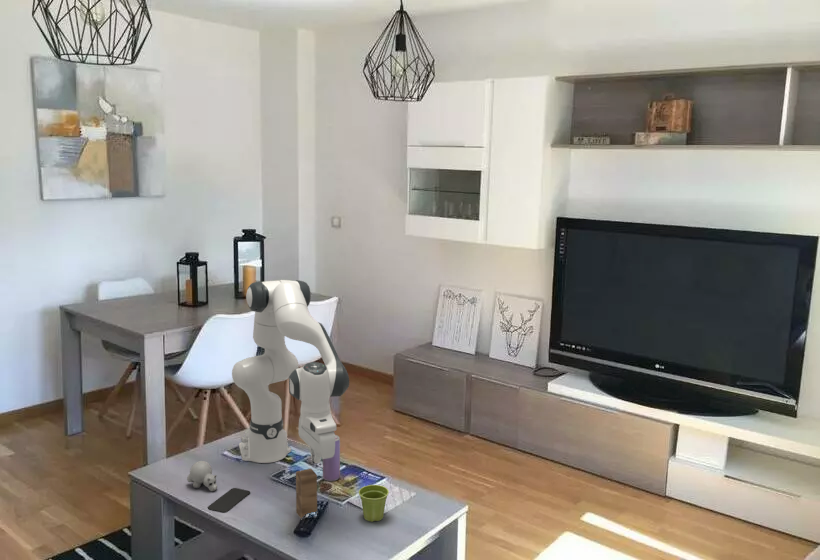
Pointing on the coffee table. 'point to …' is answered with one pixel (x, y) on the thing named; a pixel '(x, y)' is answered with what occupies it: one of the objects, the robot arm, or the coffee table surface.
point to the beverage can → (332, 464)
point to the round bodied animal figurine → (202, 476)
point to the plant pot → (373, 501)
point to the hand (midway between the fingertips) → (315, 461)
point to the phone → (229, 500)
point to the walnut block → (306, 492)
